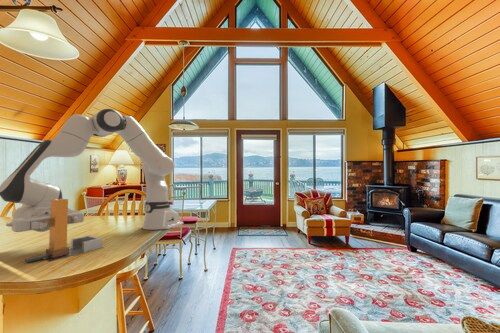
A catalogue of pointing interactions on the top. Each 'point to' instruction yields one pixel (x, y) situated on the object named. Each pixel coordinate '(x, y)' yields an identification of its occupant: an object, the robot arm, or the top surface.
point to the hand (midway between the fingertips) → (61, 223)
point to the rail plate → (71, 253)
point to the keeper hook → (86, 243)
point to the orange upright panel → (56, 231)
